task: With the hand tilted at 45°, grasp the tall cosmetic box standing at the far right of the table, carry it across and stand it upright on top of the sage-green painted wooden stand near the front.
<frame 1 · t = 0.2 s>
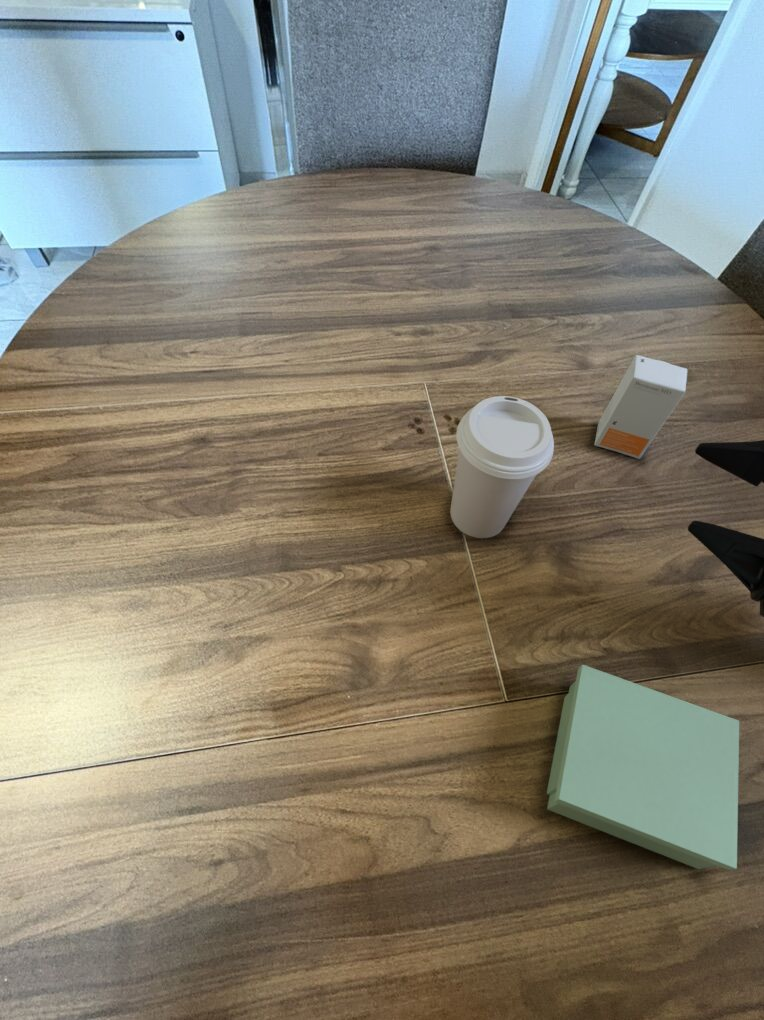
hand: (693, 484, 54), 17 cm above the table, tool horizontal, fingers open, 9 cm apart
cosmetic box: (618, 443, 79), on the table
stand: (629, 771, 55), on the table
coffee cup: (477, 515, 71), on the table
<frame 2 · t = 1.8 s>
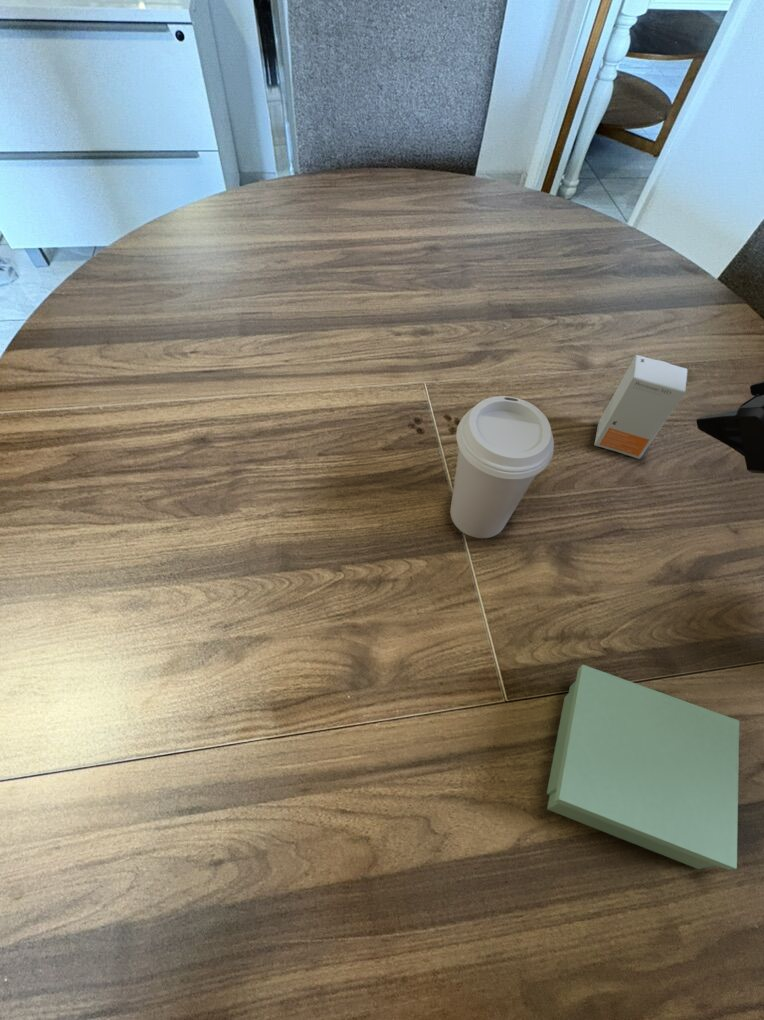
hand: (725, 406, 63), 14 cm above the table, tool tilted 45°, fingers open, 9 cm apart
nothing on the table moved.
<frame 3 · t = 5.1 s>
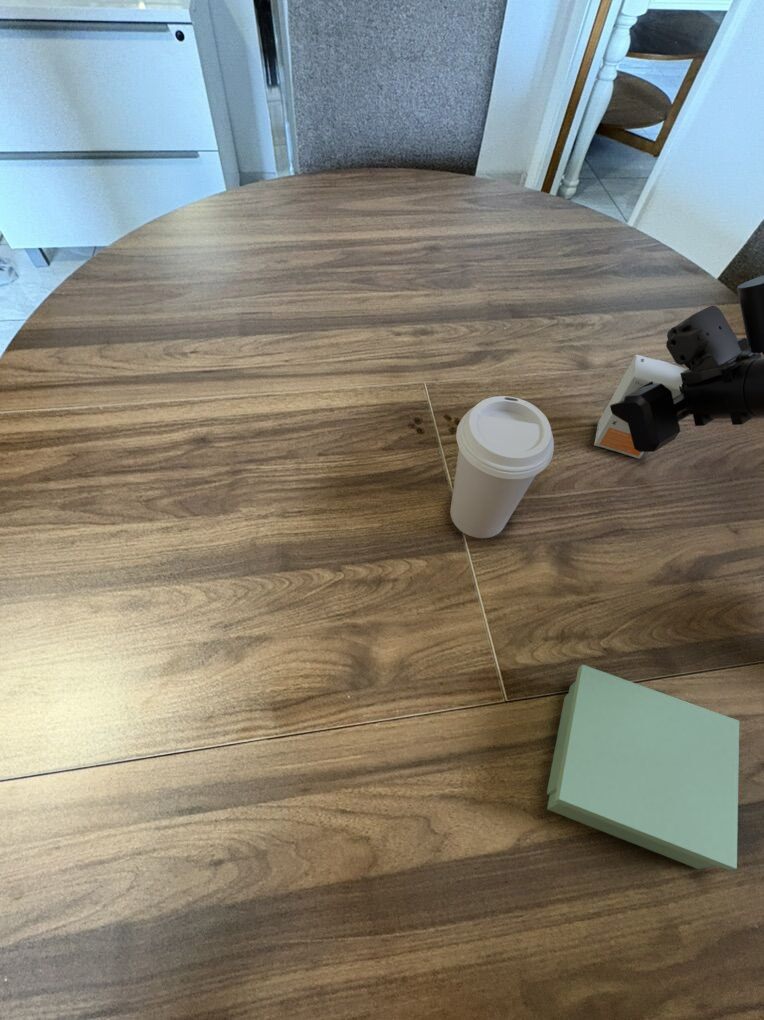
hand: (631, 398, 74), 7 cm above the table, tool tilted 45°, fingers closed on cosmetic box, 6 cm apart
cosmetic box: (617, 443, 79), on the table, touching gripper
everything else where it was.
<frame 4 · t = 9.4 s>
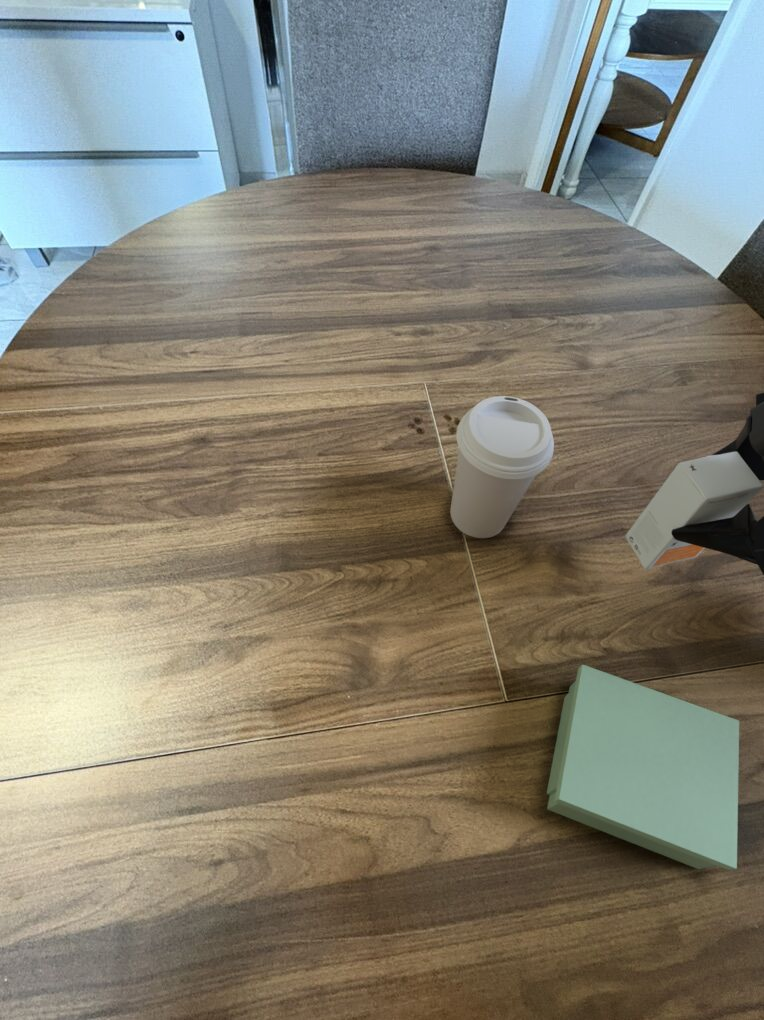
hand: (676, 505, 56), 13 cm above the table, tool tilted 45°, fingers closed on cosmetic box, 6 cm apart
cosmetic box: (659, 548, 62), point 6 cm above the table, touching gripper
everything else where it was.
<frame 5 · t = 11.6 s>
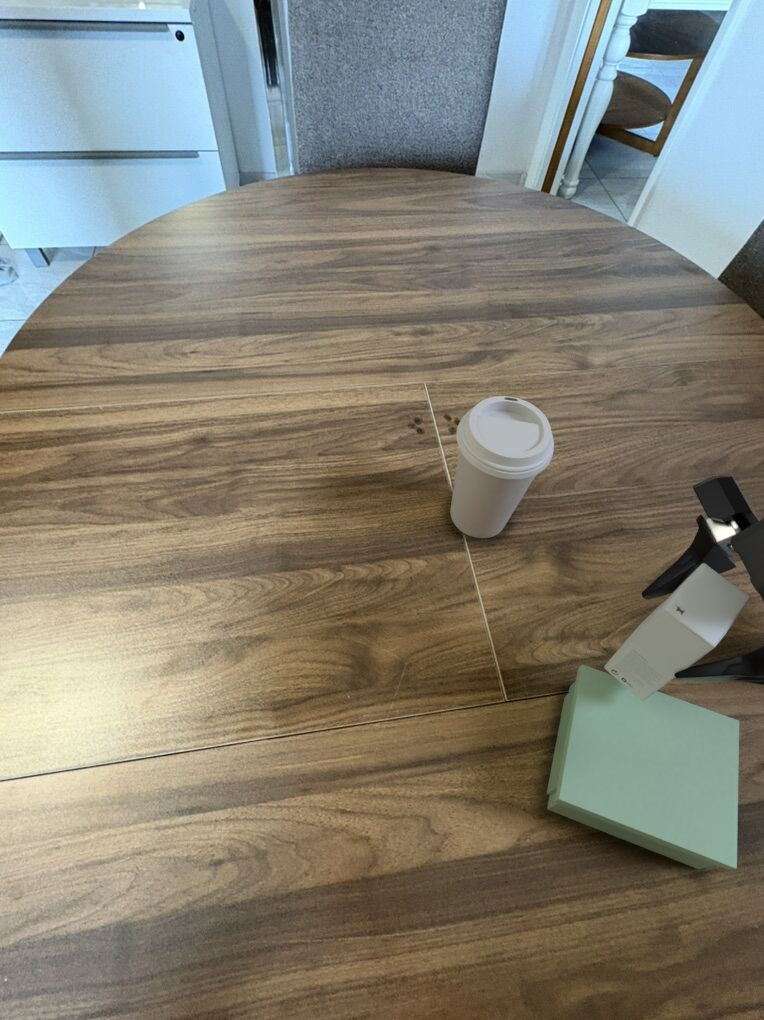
hand: (659, 635, 49), 13 cm above the table, tool tilted 45°, fingers closed on cosmetic box, 6 cm apart
cosmetic box: (639, 663, 55), point 6 cm above the table, touching gripper
everything else where it was.
when the fingers open (12 cm above the table, at t = 13.7 s): cosmetic box stays where it is, resting on stand.
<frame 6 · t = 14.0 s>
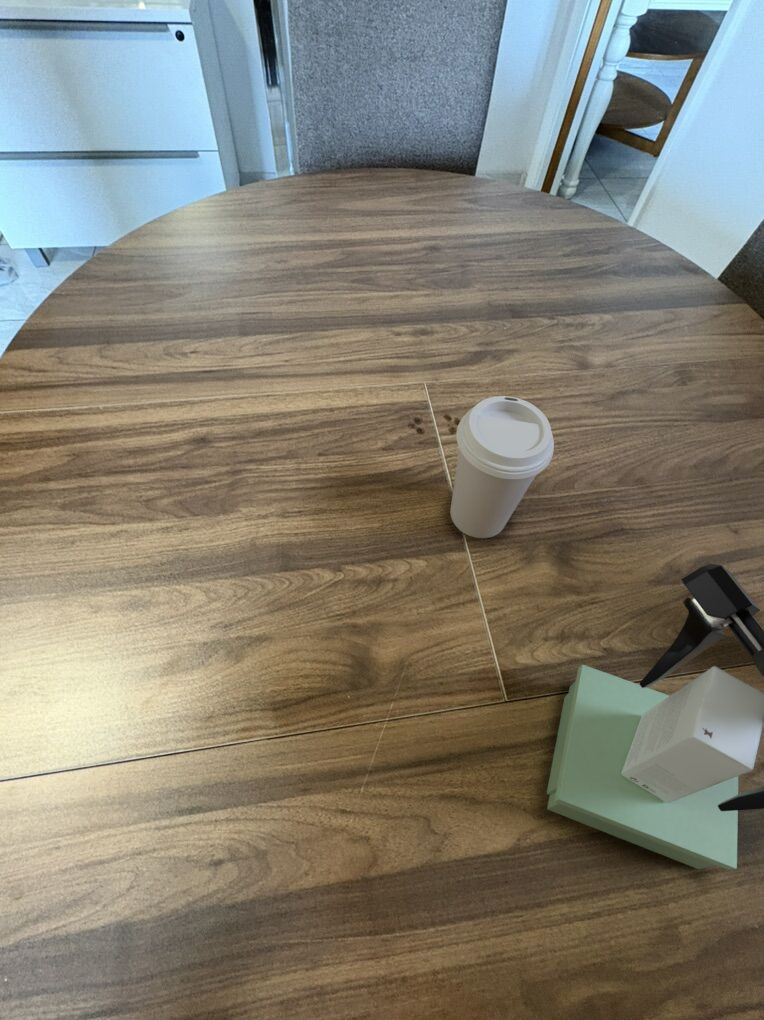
hand: (678, 743, 45), 12 cm above the table, tool tilted 45°, fingers open, 9 cm apart
cosmetic box: (653, 757, 52), point 5 cm above the table, touching stand
everything else where it was.
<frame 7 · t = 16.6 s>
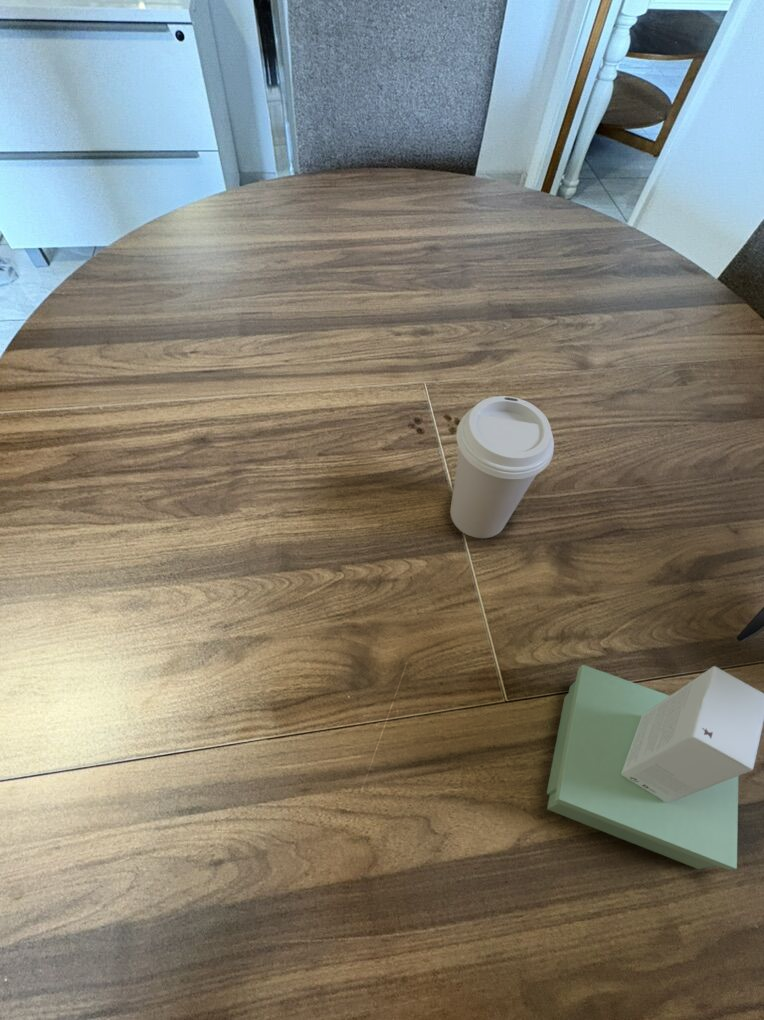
nothing on the table moved.
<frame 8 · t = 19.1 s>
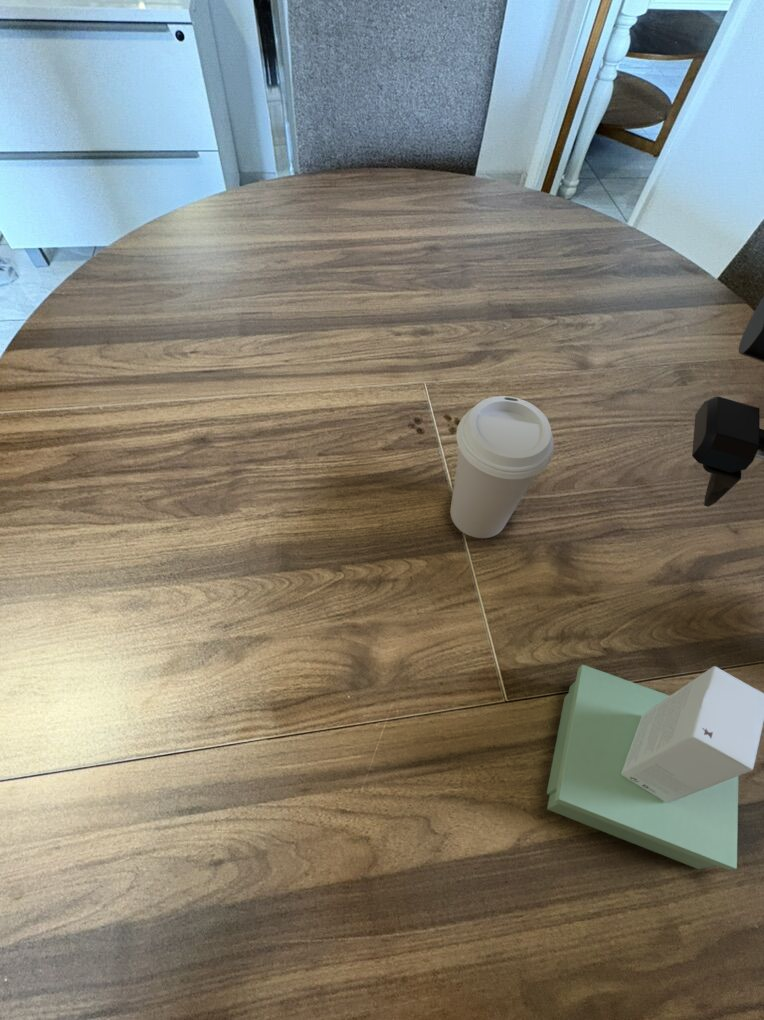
hand: (756, 518, 56), 13 cm above the table, tool pointing down, fingers open, 9 cm apart
nothing on the table moved.
at the end: cosmetic box inside the target area on the stand (0.1 cm from its centre), point 4.8 cm above the stand's base; cosmetic box tilted 0°; the gripper is holding nothing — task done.
